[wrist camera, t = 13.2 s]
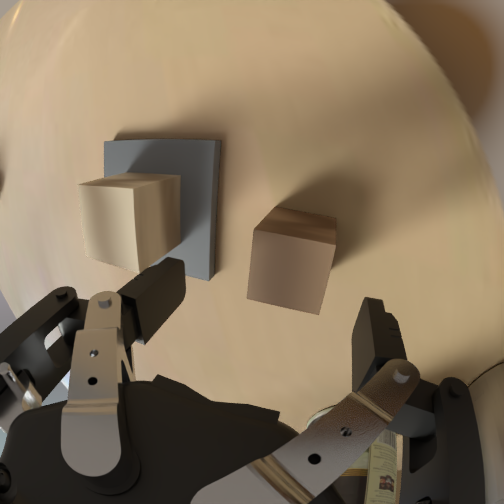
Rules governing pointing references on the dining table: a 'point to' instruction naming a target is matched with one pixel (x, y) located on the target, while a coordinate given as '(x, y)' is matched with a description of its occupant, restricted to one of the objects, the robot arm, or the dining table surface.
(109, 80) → the dining table surface
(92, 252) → the maple block
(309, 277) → the walnut block
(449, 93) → the dining table surface
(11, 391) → the robot arm
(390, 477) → the coffee can
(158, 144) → the pad
